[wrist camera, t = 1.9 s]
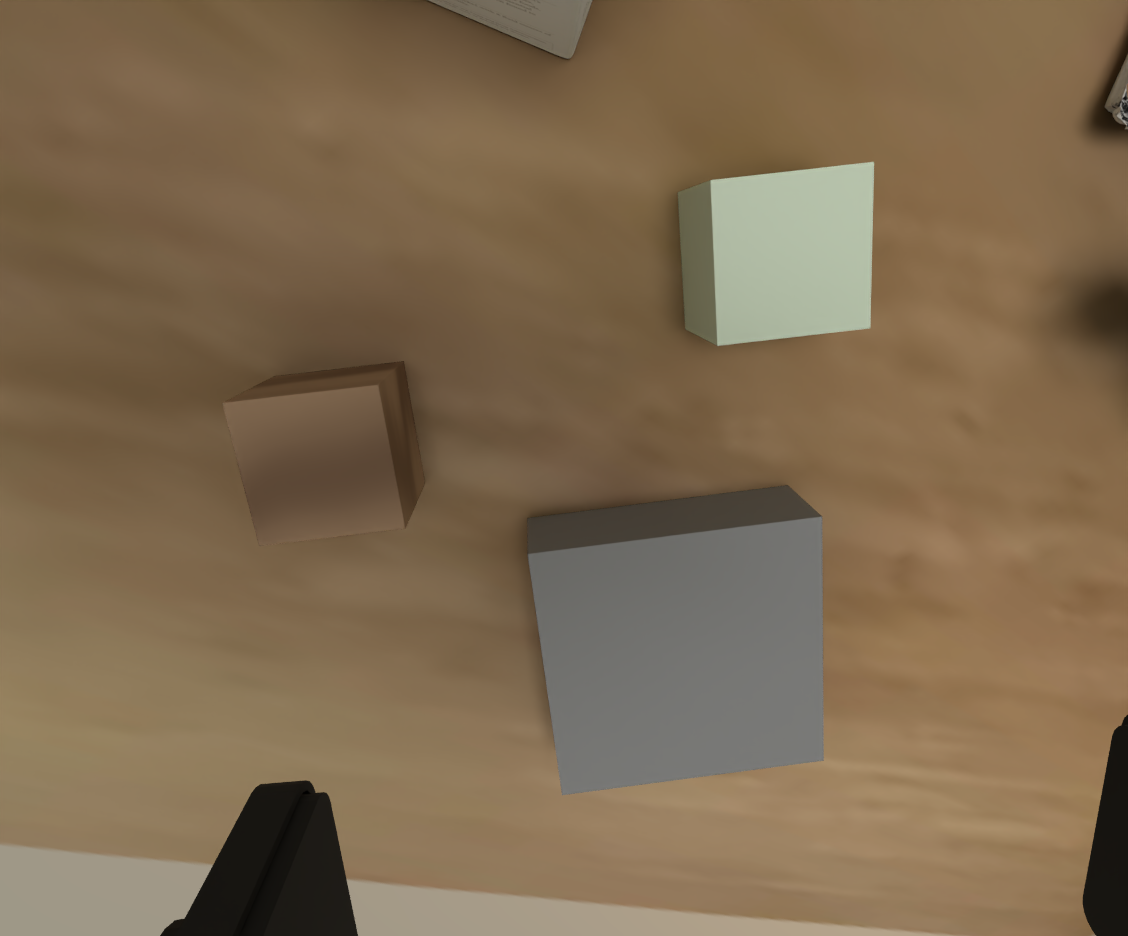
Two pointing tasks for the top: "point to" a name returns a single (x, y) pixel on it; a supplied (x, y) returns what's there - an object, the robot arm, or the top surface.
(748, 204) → the sage cube
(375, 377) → the walnut cube
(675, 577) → the base block
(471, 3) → the supplement box
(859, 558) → the top surface
